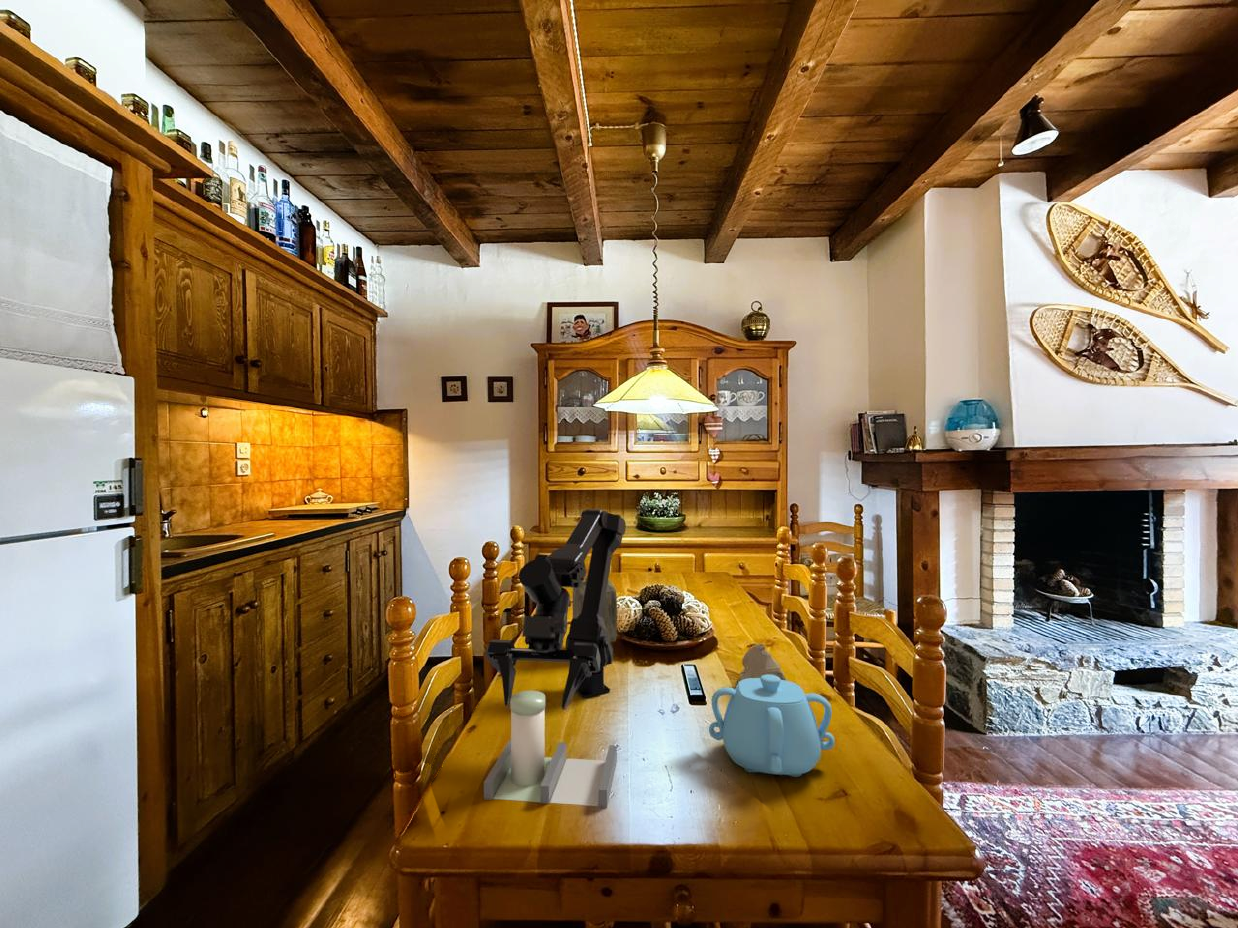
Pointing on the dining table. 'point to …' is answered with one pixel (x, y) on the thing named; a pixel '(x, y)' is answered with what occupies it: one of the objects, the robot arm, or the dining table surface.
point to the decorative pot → (771, 726)
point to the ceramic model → (759, 664)
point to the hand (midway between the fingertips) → (534, 707)
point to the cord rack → (574, 786)
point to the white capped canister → (527, 738)
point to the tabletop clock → (608, 611)
